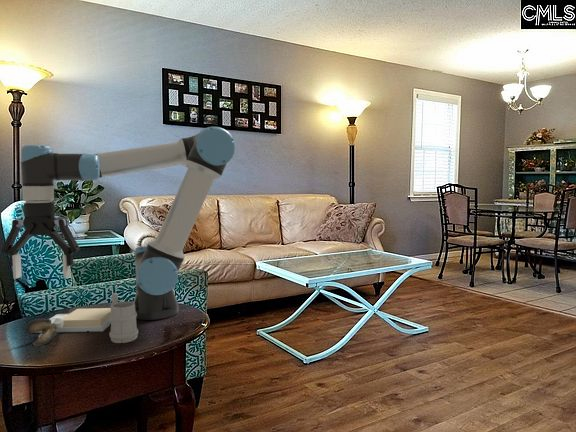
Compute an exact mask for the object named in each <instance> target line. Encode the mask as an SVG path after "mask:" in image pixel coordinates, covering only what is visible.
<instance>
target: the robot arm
mask: <svg viewBox="0 0 576 432" xmlns="http://www.w3.org/2000/svg"><path fill="white" fill-rule="evenodd" d="M235 151H236V143H235V139H234V137H233V136H232V134H231V133H230V132H229V131H228V130H226V129H225V128H222V127H219V126H208V127H205V128H203V129H202V130H200V132H199V133H197V134H195V135H192V136H188V137H183V138H179V139H178V140H177V142H170V143H169V142H168V143H163V144H157V145H156V144H155V145H148V146H143V147H135V148H128V149H121V150H120V149H119V150H114V151H108V152H100V153H93V154H92V153H58V152H57V153H55V152H54V151H53V148H52V147H51V146H49V145H41V144H29V145H27V144H26V145H24V146H22V147H21V154H20V156H21V157H20V158H21V159H20V166H21V168H20V169H21V181H22V183H21V184H22V201H24V203H23V204H22V205H23V206H22V207H23V209H22V210H23V216H24V219H20V218H16V219H12V221H11V228H10V230H9V233H8V235H7V237H6V238H5V239H6V240H5V241H4V244H3V246H2V248H1V249H0V250H1V253H3V254H8V256H9V257H8V258H9V266H10V267H12V276H13V277H12V278H13V279H14V280H17V279H19V278H21V277H23V275H22V272H23V271H22V258H21V257H22V255H21V253H20V252H19V251H20V250H21V249H22V248H23V247H24V245H25V244H26V243H27V242H28V241H29V240H30V238H31V237H32V236H33V237H34V236H42V237H43V236H44V237H45V236H48V237H49V238H50V239H51V240H52V241H53V242H54V243H55V244H56V245H57V247H59V248H60V250H62V251H63V253H64V254H63V255H62V272H63V274H62V275H63V279H67V278H70V277H71V274H72V273H71V266H73V265H74V254H75V253H77V252H79V251H80V250H81V248H80V245H79V244H78V243H77V240H76V239H75V237H74V234H72V231H71V230H70V228H69V225H68V220H67V218H61V219H56V217H55V215H56V214H55V212H56V210H55V209H56V208H55V207H56V206H55V203H54V200H55V192H54V190H55V189H54V188H55V187H54V186H55V185H54V181H79V182H87V181H97V180H98V179H101V178H105V177H106V178H107V177H111V176H113V177H114V176H117V175H118V176H119V175H124V174H125V175H126V174H131V173H132V174H133V173H138V172H139V173H140V172H145V171H151V170H159V169H163V168H170V167H177V166H183V167H185V168H187V170H186V172H185V174H184V177H183V178H182V182H181V183H180V186H179V187H178V189H177V192H176V195H175V196H174V199H173V201H172V203H171V205H170V208H169V210H168V212H167V214H166V217H165V218H164V221H163V223H162V225H161V227H160V230H159V232H158V234H157V236H156V238H155V239H154V240H152V241H150V242H148V243H147V245H142V246H137V247H136V248H135V250H134V258H135V259H134V261H135V262H134V263H135V282H136V283H135V288H136V290H135V296H134V299H133V302H134V303H135V312H136V313H137V317H136V320H144V321H150V320H152V321H153V320H154V321H155V320H161V319H166V318H170V317H172V316H175V315H177V314H178V313H179V311H180V310H179V302H178V300H177V297H176V295H175V292H174V287H175V286H176V284H177V282H178V279H179V271H180V269H181V267H182V264H183V262H184V261H185V258H186V257H185V253H184V251H183V250H184V247H185V245H186V243H187V241H188V239H189V237H190V234H191V232H192V230H193V228H194V227H195V226H194V225H195V224H196V221H197V219H198V217H199V214H200V211H201V210H202V208H203V206H204V203H205V201H206V198H207V197H208V195H209V192H210V190H211V187H212V185H213V183H214V181H215V180H216V179H219V178H221V177H222V175H223V173H224V170H225V168H226V166H227V164H228V163H229V162H230V161H231V160H232V159H233V157H234V155H235ZM23 226H24V227H25V230H24V231H23V233H22V234H21V236H20V237H19V238H18V236H19V234H20V231H21V229H22V228H23ZM55 226H57V227H58V228H59V230H60V231H61V232H60V233H61V234H62V235H63V237H64V238H63V237H62V236H61V235H60V234H59V232H58V230H57V229H56V228H55ZM17 238H18V239H17ZM64 239H65V240H64ZM16 240H17V241H16Z"/></svg>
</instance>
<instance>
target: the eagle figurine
mask: <svg viewBox="0 0 576 432" xmlns="http://www.w3.org/2000/svg"><path fill="white" fill-rule="evenodd" d="M63 324H64V321H63V320H62V319H59V318H57V319H55V321H54V322H53V323H51V320H50V318H35V319H33V320H31V321H29V322H28V323H27V324H26V325H25V328H24V329H23V330H24V332H25V333H26V334H31V333H34V332H38V331H42V332H40V333H39V334H38V338H37V339H36V340H35V341H34V342H32V344H33V346H34V347H38V346H43V345H44V346H45V345H46V344H48V343H50V342H51V341H52V340H53V338H54V337H55V336H57V335H58V332H57V331H56V329H61V328H62V327H63Z"/></svg>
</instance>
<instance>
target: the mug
mask: <svg viewBox="0 0 576 432" xmlns="http://www.w3.org/2000/svg"><path fill="white" fill-rule="evenodd" d="M111 296H112V297H111V305H110V308H111V312H110V320H111V325H110V331H109V334H108V335H109V338H110V342H112V343H115V344H126V343H129V342H134V341H135V340H136V339H138V335H139V329H138V328H137V326H138V325H137V319H136V317H137V313H136V312H135V303H134V301H119V300H118V294H117V293H116V292H113V293H112V294H111Z"/></svg>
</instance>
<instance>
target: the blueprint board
mask: <svg viewBox="0 0 576 432" xmlns="http://www.w3.org/2000/svg"><path fill="white" fill-rule="evenodd" d="M110 312H111V307H105V308H104V307H101V308H95V307H94V308H75V310H73V311H71V312H70V313H57V314H55V315H54V316H52V317H50V318H49V319H50V320H51V323H53V322H54V321H55V319H57V318H59V319H62V320H63V321H64V324H63V327H62V328H61V329H56V331H57V333H77V332H78V333H80V332H81V333H83V332H84V333H85V332H86V333H87V331H89V332H104V331H105V330H107V328H108V327H110V326H111V325H110V324H111V320H110ZM41 332H42V331H38V332H33V334H34V333H39V334H40V333H41ZM89 332H88V333H89Z"/></svg>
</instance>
